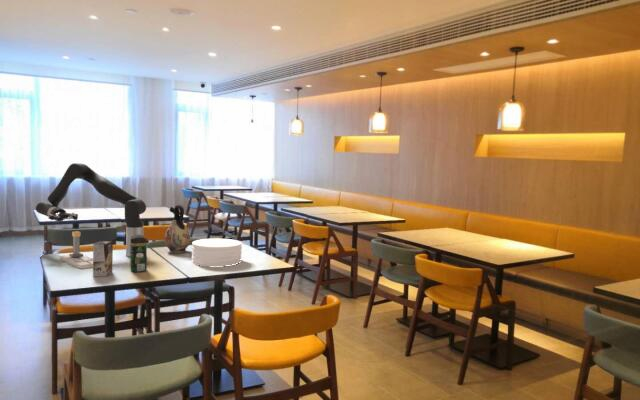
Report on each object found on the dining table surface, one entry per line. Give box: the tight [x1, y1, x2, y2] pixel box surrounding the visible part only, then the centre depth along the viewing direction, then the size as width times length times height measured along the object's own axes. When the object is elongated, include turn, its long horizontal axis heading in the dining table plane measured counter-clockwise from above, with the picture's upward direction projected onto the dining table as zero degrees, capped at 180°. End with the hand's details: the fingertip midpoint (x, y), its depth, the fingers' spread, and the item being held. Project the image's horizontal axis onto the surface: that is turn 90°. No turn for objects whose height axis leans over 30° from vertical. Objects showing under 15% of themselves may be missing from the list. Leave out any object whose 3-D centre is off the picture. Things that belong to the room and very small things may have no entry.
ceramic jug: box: [164, 204, 191, 254], centre depth 294 cm, size 17×15×30 cm
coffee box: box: [92, 240, 114, 277], centre depth 234 cm, size 9×6×16 cm
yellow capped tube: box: [68, 230, 84, 258], centre depth 260 cm, size 4×6×14 cm
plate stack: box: [191, 237, 243, 267], centre depth 273 cm, size 28×28×12 cm
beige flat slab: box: [59, 254, 93, 270], centre depth 256 cm, size 28×11×2 cm, turn 48°
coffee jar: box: [129, 234, 148, 273], centre depth 245 cm, size 10×8×19 cm
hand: (68, 218), depth 265 cm, fingers open, 8 cm apart
